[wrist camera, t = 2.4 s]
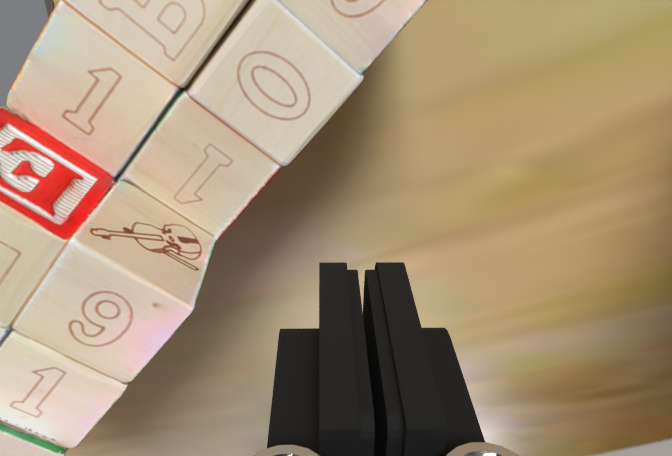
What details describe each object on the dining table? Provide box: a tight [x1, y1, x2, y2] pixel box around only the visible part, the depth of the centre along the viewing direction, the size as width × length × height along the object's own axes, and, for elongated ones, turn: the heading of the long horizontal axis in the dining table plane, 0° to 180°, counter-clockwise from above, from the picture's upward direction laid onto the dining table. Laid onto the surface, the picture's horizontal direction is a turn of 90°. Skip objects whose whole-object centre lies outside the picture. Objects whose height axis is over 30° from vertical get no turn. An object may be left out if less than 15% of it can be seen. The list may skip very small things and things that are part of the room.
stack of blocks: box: [0, 0, 427, 456], centre depth 16 cm, size 21×6×12 cm, turn 138°
